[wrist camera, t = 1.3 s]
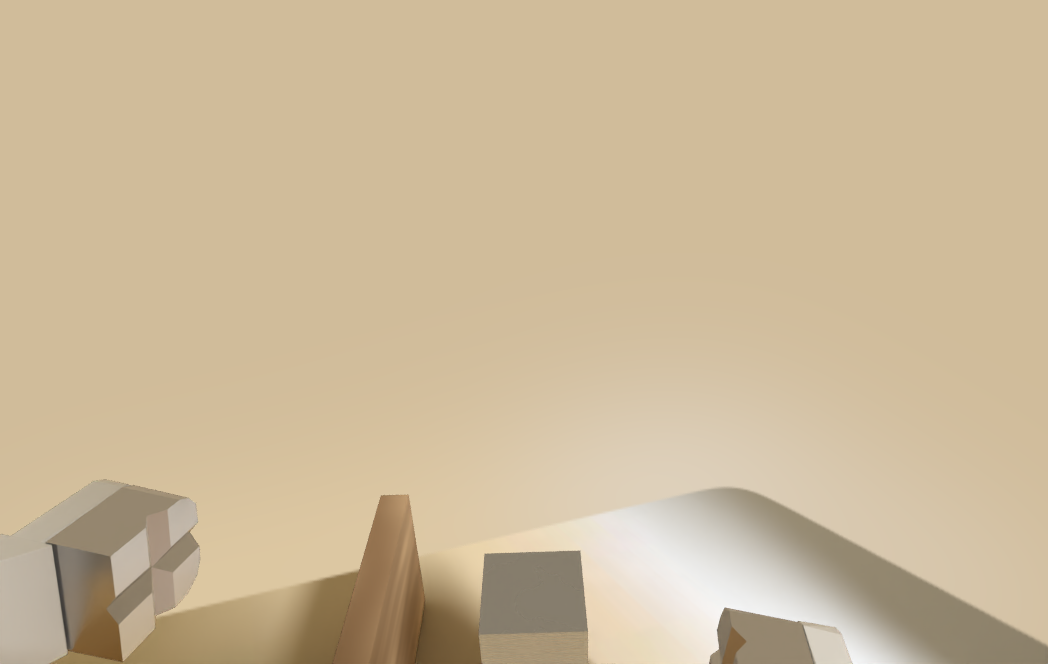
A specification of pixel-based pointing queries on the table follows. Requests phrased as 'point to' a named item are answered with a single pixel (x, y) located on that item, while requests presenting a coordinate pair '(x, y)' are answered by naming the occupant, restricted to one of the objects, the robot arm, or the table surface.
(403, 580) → the board
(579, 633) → the block
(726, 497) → the table surface
